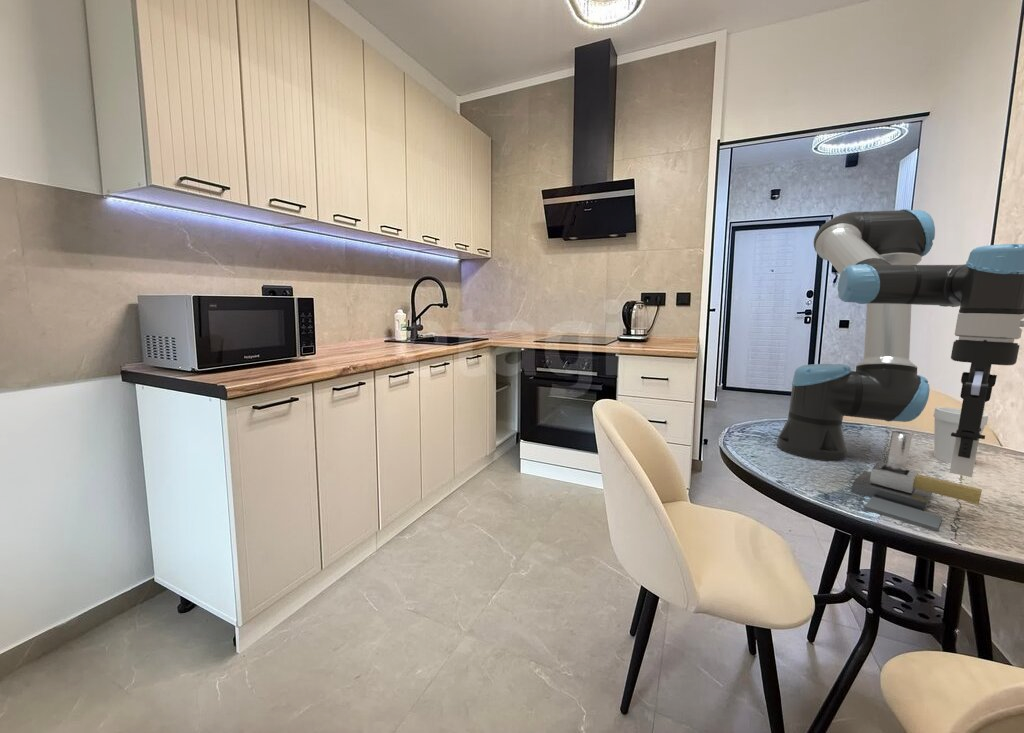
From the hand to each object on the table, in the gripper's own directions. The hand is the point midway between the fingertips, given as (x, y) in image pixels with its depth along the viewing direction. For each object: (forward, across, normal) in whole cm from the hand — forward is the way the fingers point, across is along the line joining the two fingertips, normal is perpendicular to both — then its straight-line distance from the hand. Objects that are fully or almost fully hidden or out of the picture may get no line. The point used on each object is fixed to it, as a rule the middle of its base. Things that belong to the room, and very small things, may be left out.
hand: (960, 473), depth 75 cm
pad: (+9, -2, +6) cm, 12 cm away
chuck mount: (+9, +8, +9) cm, 15 cm away
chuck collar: (+7, +7, +5) cm, 11 cm away
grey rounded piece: (+9, +50, +3) cm, 50 cm away
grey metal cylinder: (+7, +8, +9) cm, 14 cm away
